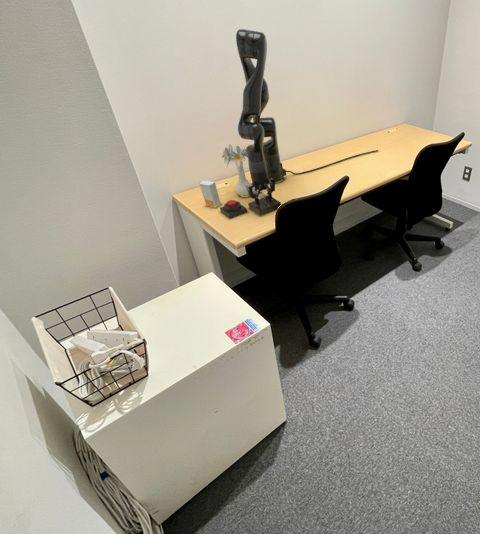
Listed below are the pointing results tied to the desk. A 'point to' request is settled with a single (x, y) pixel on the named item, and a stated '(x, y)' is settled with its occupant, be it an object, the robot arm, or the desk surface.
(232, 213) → the button box
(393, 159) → the desk surface
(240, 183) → the flower vase
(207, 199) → the cosmetic box
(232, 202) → the button
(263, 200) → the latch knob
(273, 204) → the rotary lever switch
